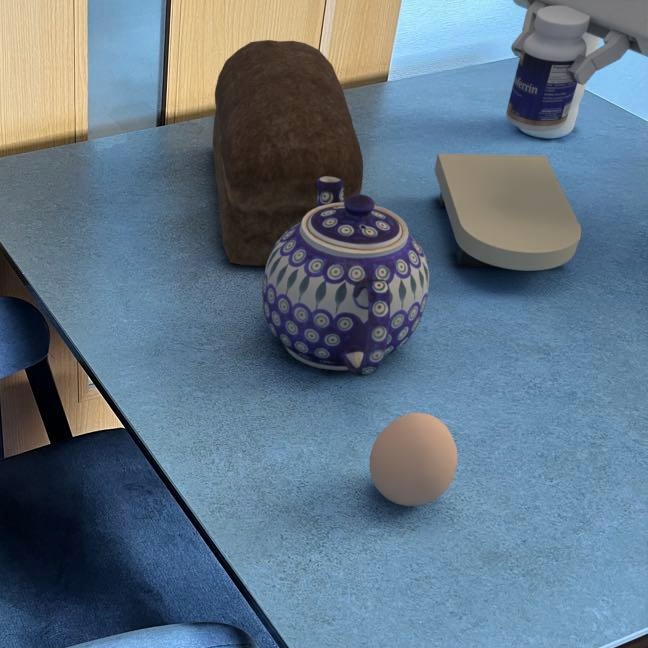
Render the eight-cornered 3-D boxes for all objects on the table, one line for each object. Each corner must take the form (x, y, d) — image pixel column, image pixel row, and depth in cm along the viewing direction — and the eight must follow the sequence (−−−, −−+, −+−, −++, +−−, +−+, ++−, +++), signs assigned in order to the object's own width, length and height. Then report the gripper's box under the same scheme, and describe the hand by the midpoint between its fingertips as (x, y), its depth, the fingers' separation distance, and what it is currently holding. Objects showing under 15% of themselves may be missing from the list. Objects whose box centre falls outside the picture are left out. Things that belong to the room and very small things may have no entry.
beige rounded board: (428, 194, 120) (437, 153, 117) (534, 197, 120) (546, 155, 116) (458, 295, 105) (469, 251, 101) (579, 298, 104) (594, 254, 101)
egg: (355, 513, 82) (371, 436, 77) (370, 462, 87) (386, 386, 81) (440, 532, 81) (463, 455, 75) (451, 479, 85) (473, 402, 79)
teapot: (440, 421, 90) (480, 271, 80) (270, 422, 91) (287, 273, 80) (389, 273, 108) (417, 134, 98) (247, 274, 109) (259, 136, 98)
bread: (323, 144, 131) (340, 10, 120) (358, 275, 108) (384, 125, 97) (207, 144, 131) (214, 11, 120) (219, 275, 109) (228, 126, 97)
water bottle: (565, 144, 129) (633, -82, 112) (508, 133, 132) (565, -89, 114) (577, 123, 133) (644, -97, 116) (522, 113, 136) (579, -104, 118)
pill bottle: (494, 112, 103) (519, 6, 96) (546, 106, 104) (575, 0, 97) (523, 136, 99) (552, 27, 92) (576, 129, 100) (609, 20, 93)
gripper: (558, -115, 98) (457, 13, 102) (743, -62, 85) (620, 83, 89) (578, -70, 103) (480, 51, 107) (757, -13, 90) (639, 123, 94)
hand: (545, 66), depth 98 cm, fingers closed on pill bottle, 6 cm apart
